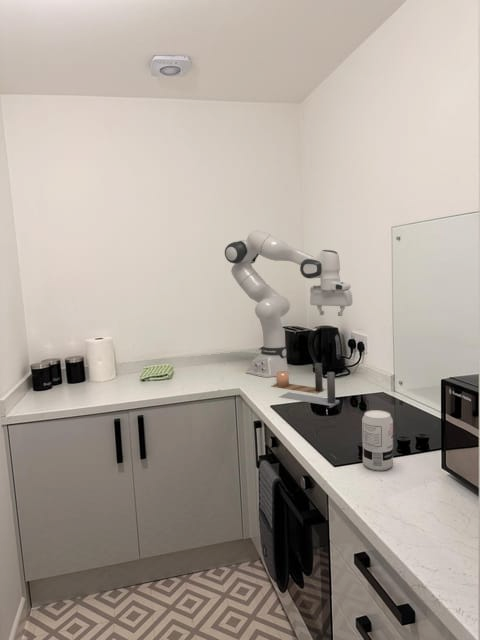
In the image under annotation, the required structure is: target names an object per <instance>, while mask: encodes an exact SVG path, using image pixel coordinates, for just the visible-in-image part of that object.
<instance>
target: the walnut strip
mask: <svg viewBox="0 0 480 640" xmlns="http://www.w3.org/2000/svg"><path fill="white" fill-rule="evenodd" d="M314 378H315V379H314V385H315V386H307V385H302V384H301V385H300V384H294V383H289V386H288V387H278V386H277V383H275V384H274V385H271V386H270V387H272V388H276V389H277V388H278V389H284V390H289V391H297V392H304V393H311V394H316V395H318V394H320V393H322V392H324V391H326V390H327V388H323V387H324V386H323V363H322V362H315V363H314Z"/></svg>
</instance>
